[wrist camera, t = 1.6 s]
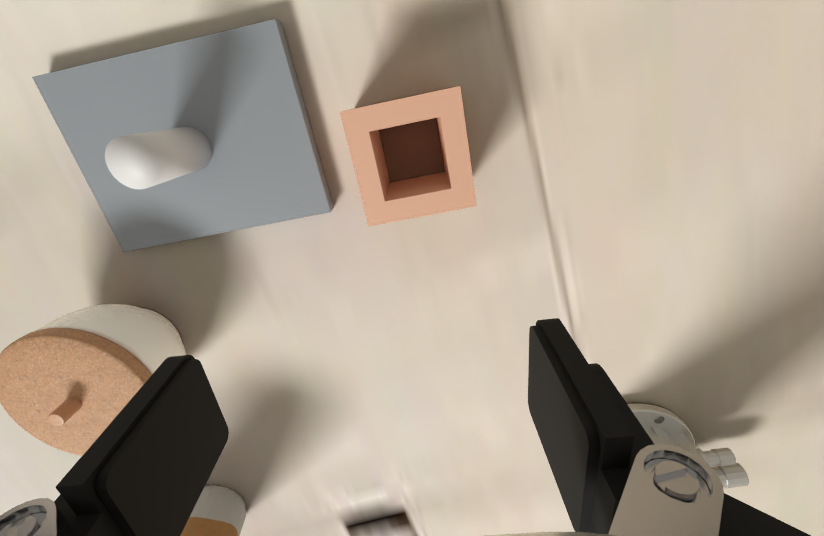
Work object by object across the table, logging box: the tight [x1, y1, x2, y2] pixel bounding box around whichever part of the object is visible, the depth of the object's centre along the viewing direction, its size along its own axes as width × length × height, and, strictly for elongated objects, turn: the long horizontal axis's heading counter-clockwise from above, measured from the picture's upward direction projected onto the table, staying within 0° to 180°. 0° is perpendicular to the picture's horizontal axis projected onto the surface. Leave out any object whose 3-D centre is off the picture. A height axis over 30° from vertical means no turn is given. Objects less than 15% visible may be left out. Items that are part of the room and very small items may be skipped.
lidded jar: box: [0, 304, 186, 456], centre depth 30 cm, size 11×11×9 cm
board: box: [32, 19, 334, 252], centre depth 24 cm, size 16×12×7 cm
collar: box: [340, 86, 477, 226], centre depth 25 cm, size 7×7×6 cm
